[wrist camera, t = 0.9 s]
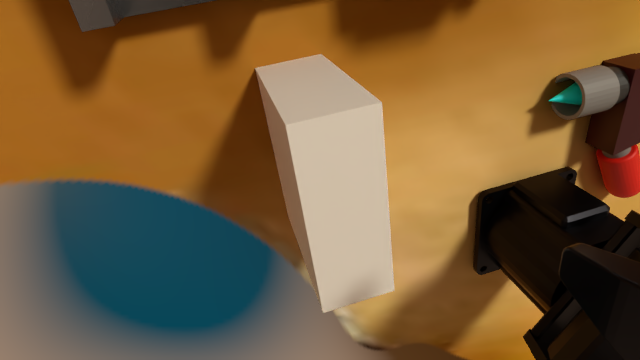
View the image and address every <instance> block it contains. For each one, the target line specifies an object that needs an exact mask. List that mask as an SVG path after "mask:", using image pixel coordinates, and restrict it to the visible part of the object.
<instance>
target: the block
mask: <svg viewBox="0 0 640 360" xmlns="http://www.w3.org/2000/svg"><path fill="white" fill-rule="evenodd" d="M255 70H256V75H257V79H258V83H259V88H260V92H261V97H262V101H263V106H264V110H265V115H266V119H267V124H268V128H269V133H270V137H271V142H272V146H273V151H274V155H275V159H276V164H277V168H278V173H279V177H280V182H281V186H282V191H283V195H284V200H285V204H286V209H287V213H288V217H289V220H290V223H291V225H292V228H293V231H294V234H295V237H296V239H297V242H298V245H299V248H300V251H301V253H302V256H303V259H304V262H305V264H306V267H307V270H308V273H309V276H310V278H311V281H312V284H313V287H314V289H315V292H316V295H317V298H318V301H319V303H320V306H321V309H322V312H323V313H325V312H328V311H331V310H335V309H338V308H341V307H344V306H347V305H350V304H354V303H357V302H360V301H363V300H366V299H369V298H373V297H376V296H379V295H382V294H385V293H388V292H392V291H394V277H393V262H392V247H391V232H390V217H389V202H388V187H387V172H386V157H385V142H384V127H383V111H382V102H381V101H380V100H378V99H377V98H376V97H375V96H373V95H372V94H371V93H370V92H368V91H367V90H366V89H365V88H363V87H362V86H361V85H360V84H358V83H357V82H356V81H355V80H353V79H352V78H351V77H350V76H348V75H347V74H346V73H344V72H343V71H342V70H341V69H339V68H338V67H337V66H336V65H334V64H333V63H332V62H331V61H329V60H328V59H327V58H326V57H324V56H323V55H322V54H319V55H314V56H310V57H305V58H300V59H295V60H291V61H286V62H281V63H277V64H272V65H267V66H263V67H258V68H255Z"/></svg>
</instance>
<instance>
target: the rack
mask: <svg viewBox="0 0 640 360" xmlns="http://www.w3.org/2000/svg"><path fill="white" fill-rule="evenodd" d="M209 1H215V0H69V2H70V5H71V7H72V9H73V12H74V14H75V16H76V19H77V21H78V23H79V26H80V28H81V31H82V32H84V31H89V30H95V29H100V28H105V27H111V26H115V25H116V24H117V23H118V22H119V21H121V20H122V19H123V18H124V17H128V16H134V15H139V14H144V13H150V12H155V11H161V10H166V9H171V8H177V7H182V6H188V5H193V4H199V3H204V2H209Z"/></svg>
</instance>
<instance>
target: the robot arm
mask: <svg viewBox="0 0 640 360" xmlns="http://www.w3.org/2000/svg"><path fill="white" fill-rule="evenodd" d="M576 176H577V172H576V171H575V170H574V169H572V168H570V167H565V168H561V169H558V170H554V171H551V172H547V173H543V174H540V175H536V176H533V177H529V178H526V179H522V180H519V181H515V182H512V183H508V184H505V185H501V186H498V187H494V188H491V189H487V190H485V191H483V192H482V193H480V195H479V197H478V205H477V220H476V234H475V249H474V264H473V268H474V270H475V271H476V272H477V273H478V274H479V275H482V274H486V273H489V272H492V271H495V270H498V269H501V270H502V271H503V272H504V273H505V274H506V275H507V276H508V278H509V279H510V280H511V281H512V282H513V283H514V284H515V285H516V286H517V287H518V288H519V289H520V290H521V291H522V292H523V293H524V294H525V295H526V296H527V297H528V298H529V299H530V300H531V301H532V302H533V303H534V304H535V305H536V306H537V307H538V309H539V310H540V311H541V312H542V313H543V314H544V316H543V317H542V318H541V319H540V320H539V321H538V323H537V324H536V325H535V326H534V327H533V328H532V330H531V329H529V330H528V331H527V332H526V334H525V335H524V336H523V338H524V340H525V341H526V343H527V345H528V347H529V348H530V350H531V353H532V354H533V356H534V358H535V359H536V360H640V214H639V213H637V212H635V211H633V210H631V212H630V213H629V214H628V215H627V216H626V217H625V218H624V219H626V221H625V222H624V221H622V220H621V219H619V218H618V217H616V216H614V215H613V214H611V213H610V212H609V211H610V207H609V206H608V205H607V204H605V203H604V202H602V201H601V200H599V199H597V198H596V197H594V196H592V195H591V194H589V193H587V192H586V191H584V190H583V189H581V188H579V187H578V186H576V185H575V181H576ZM488 197H489V198H488ZM487 198H488V199H487ZM486 199H487V200H486Z"/></svg>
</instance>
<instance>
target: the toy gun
mask: <svg viewBox="0 0 640 360" xmlns="http://www.w3.org/2000/svg"><path fill="white" fill-rule="evenodd" d="M570 79H573V80H574V81H576V82H575V83H573V84H572V85H571V86H569V87H568V88H566V89H565V90H563V91H562V92H560V93H559V94H558V95H556V96H555V97H553V98H552V99H550V100H549V101H552V106H551V107H552V109H553V111H554V112H555V113H556V114H557V115H558V116H559V117H561V118H563V119H566V120H571V119H575V118H579V117H583V116H587V115H591V118H590V123H589V128H588V132H587V137H586V141H585V142H586V143H588V144H590V145H592V146H594V147H596V148H598V149H597V152H596V155H597V159H598V163H599V167H600V171H601V174H602V178H603V182H604V186H605V188H606V190H607V191H608V192H609V193H611V194H612V195H614V196H617V197H621V198H626V197H631V196H634V195H636V194H637V193H639V192H640V156H639V150H638V146H637V145H636V144H638V143H640V53H637V54H635V53H634V54H630V55H626V56H622V57H617V58H613V59H609V60H605V61H603V63H602V66H601V65H598V66H593V67H589V68H585V69H580V70H576V71H572V72H568V73H564V74H560V75H558V76H557V77H556V82H555V83H558V82H562V81H566V80H570Z"/></svg>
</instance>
